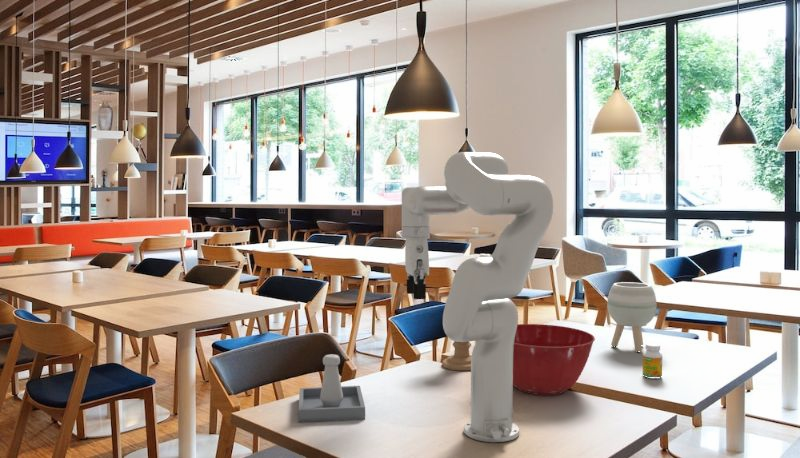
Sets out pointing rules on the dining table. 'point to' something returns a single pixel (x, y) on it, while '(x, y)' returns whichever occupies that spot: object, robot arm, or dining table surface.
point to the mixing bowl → (549, 357)
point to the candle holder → (459, 357)
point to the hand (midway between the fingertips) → (416, 296)
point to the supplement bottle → (652, 361)
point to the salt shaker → (331, 382)
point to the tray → (316, 412)
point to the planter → (631, 309)
